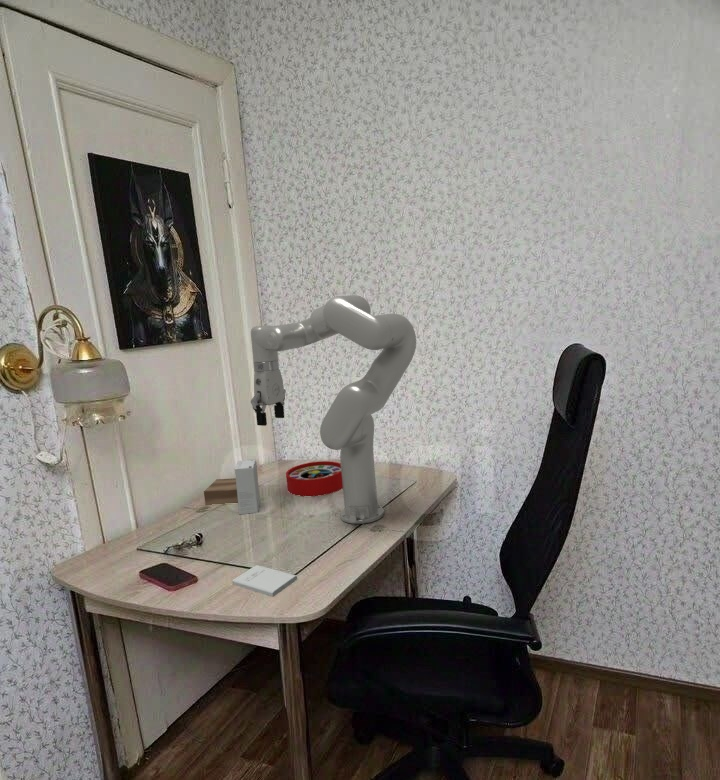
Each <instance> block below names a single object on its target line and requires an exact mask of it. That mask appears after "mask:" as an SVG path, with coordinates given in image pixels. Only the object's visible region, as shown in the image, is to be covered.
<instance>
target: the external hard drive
mask: <svg viewBox="0 0 720 780" xmlns="http://www.w3.org/2000/svg"><path fill="white" fill-rule="evenodd" d="M297 580H298V575H295V574H292V573H288V572H286V571H280V570H277V569H275V568H269V567H266V566H262V565H258V564H256V565H253V567H251V568H250V569H248V570H246V571H245V572H243V573H241V574H240V575H238V576H237V577H235V578H234V579H232V581H231V582H232V585H233V586H234V585H235V586H237V587H240V588H243V587H244V589H247V590H250V591H253V592H256V593H260V594H262V595H266V596H270V597H272V598H273V597H275V596H276V595H277V594H279V593H280V592H281V591H283V590H284V589H286V588H287V587H288V586H290V585H292V584H293V583H295V581H297Z"/></svg>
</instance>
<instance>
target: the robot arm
mask: <svg viewBox="0 0 720 780" xmlns="http://www.w3.org/2000/svg"><path fill="white" fill-rule="evenodd" d="M371 313H372V312H371V306H370V304H369V302H368V300H367V299H366V298H364V297H362V296H360V295H356V294H351V295H338V296H334V297H332V298H330V299H329V300H328V301H327V302H326V303H325V304H324V305H323V306H320V307H317V308H315V309H314V310H312V312H311V314H310V317H309V318H306V319H304V320H301V321H298V322H293V323H286V324H285V323H283V324H278V325H258V326H257V325H256V326H252V328H251V330H250V337H251V341H250V342H251V350H252V359H253V360H252V361H253V370H254V371H253V372H254V373H253V393H254V394H253V397H252V398H251V400H250V404H251V406H252V410H253V411H254V413H255V415H256V417H255V419H256V424H257V425H256V426H262V427H265V426H267V425H268V423H267V421H268V419H267V412H265V411H266V409H267V406H272V405H273V409H274V418H276V419H285V407H284V406H285V400H286V393H287V391H286V389H285V388H284V381H283V376H282V372H281V369H280V364H279V363H280V362H279V352H285V351H288V350H294V349H299V348H303V347H306V346H309V345H311V344H315V343H318V342H320V341H322V340H325V339H327V338H330V337H333V336H336V335H341V336H343V337H345V338H347V339H348V340H349V341H351V342H353V343H354V344H357V346H361V348H364V349H366V350H370V351H380V350H382V351H380V353H379V354H378V355H377V356H376V357H375V359H374V360H373V361H372V363H371V364H370V367H369V369H368V371H367V372H366V373H365V374H364V376H363V377H362V378H361V379H359V380H357V381H354V382H351V383H349V384H347V385H346V386H344V387H343V388H342V389H340V391H339V392H338V393H337V395H336V396H335V399H333V402H332V404H331V405H330V407H329V409H328V411H327V412H326V413H325V416H324V418H323V420H322V421H321V424H320V427H319V436H320V440H321V442H322V444H323V445H324V446H325V447H327V448H328V449H330V450H335V451H338V450H339V451H340V452H339V460H340V462H339V463H341V474H342V484H343V488H342V493H343V503H344V508H343V509H342V510H341V511H340V513H339V518H340V520H341V521H343V522H345V523H346V524H347V523H348V524H353V525H354V524H356V525H359V524H360V525H361V524H362V525H363V524H368V523H373V522H376V521H378V520H380V519H381V518H382V517H384V515H385V514H384V513H385V510H384V508H383V507H382V506H381V505H378V494H377V493H378V492H377V483H376V482H377V481H376V471H375V456H374V438H375V437H374V436H375V422H374V421H375V420H374V418H373V414H375V413H378V412H379V411H380V410H382V409H383V408H384V407H385V405H386V403H387V402H388V400H389V398H390V397H391V395H392V394H393V392H394V390H395V389H396V387H397V385H398V384H399V382H400V381H401V379H402V377H403V375H404V373H405V372H406V371H407V369H408V367H409V365H410V364H411V363H412V360H413V358H414V356H415V353H416V349H417V335H416V330H415V329H414V326H413V324H412V323H411V321H410V320H409V319H408V318H407V317H406V316H404V315H401V314H399V313H385V314H378V315H373V314H371Z"/></svg>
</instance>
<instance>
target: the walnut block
mask: <svg viewBox="0 0 720 780" xmlns="http://www.w3.org/2000/svg"><path fill="white" fill-rule="evenodd" d="M203 495H204V496H203V497H204V504H205V506H213V505H212V504H223V505H226V504H225V503H238V496H237V487H236V477H235V478H220V479H215V480H214V481H213V482H212V483H211V484H210V485H209V486H207V488H206V489H205V490H203Z"/></svg>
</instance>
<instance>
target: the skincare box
mask: <svg viewBox="0 0 720 780" xmlns="http://www.w3.org/2000/svg"><path fill="white" fill-rule="evenodd" d="M234 475H235V478H236V487H237V496H238V504H237V505H238V513H239V515H248V513H250V514H257V513H256V512H258V513H259V510H260V505H261V499H260V498H261V497H260V495H261V494H260V486H259V477H258V468H257V459H246V460H237V463H236V465H235V468H234Z"/></svg>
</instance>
